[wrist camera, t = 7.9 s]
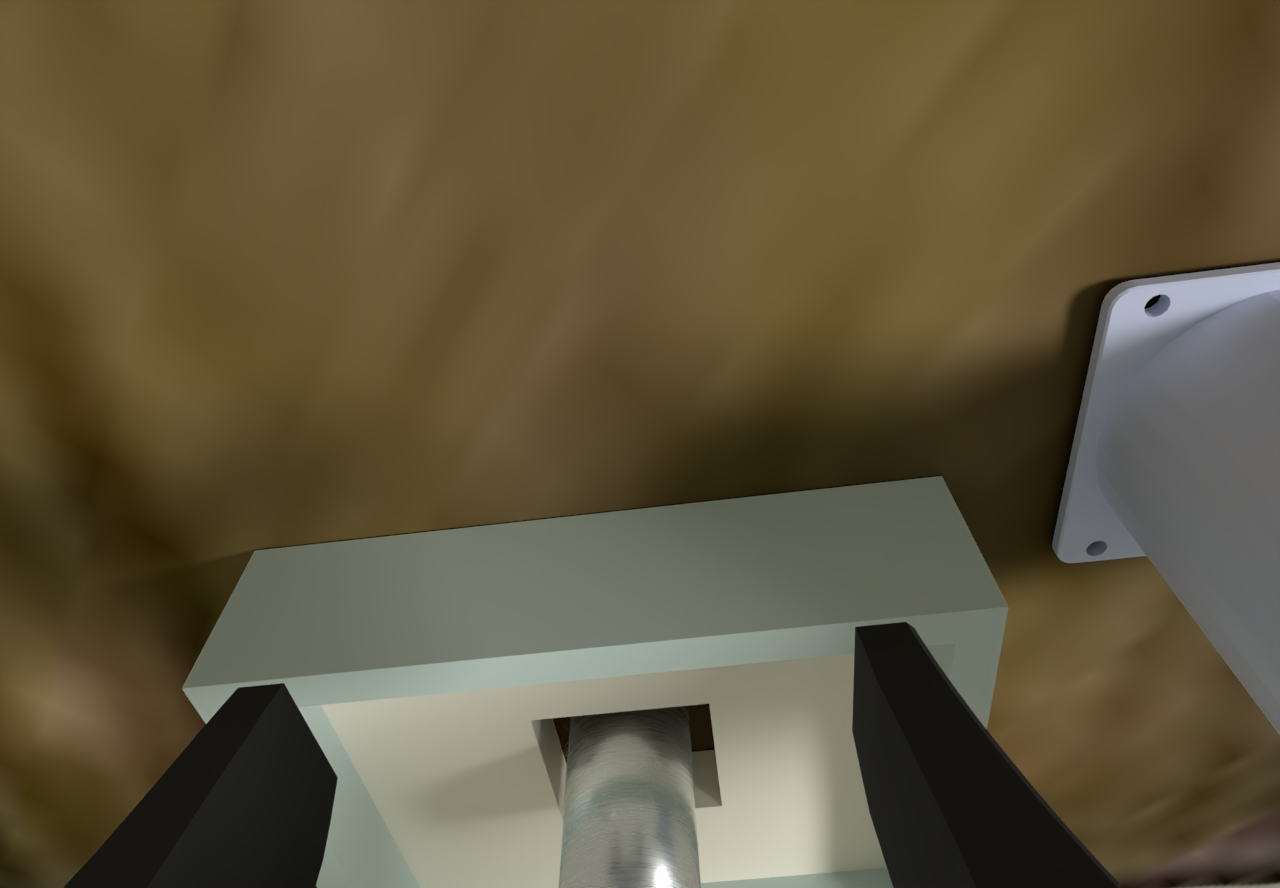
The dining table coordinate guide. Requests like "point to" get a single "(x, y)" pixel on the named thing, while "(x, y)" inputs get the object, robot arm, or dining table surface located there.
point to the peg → (630, 802)
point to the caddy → (605, 673)
